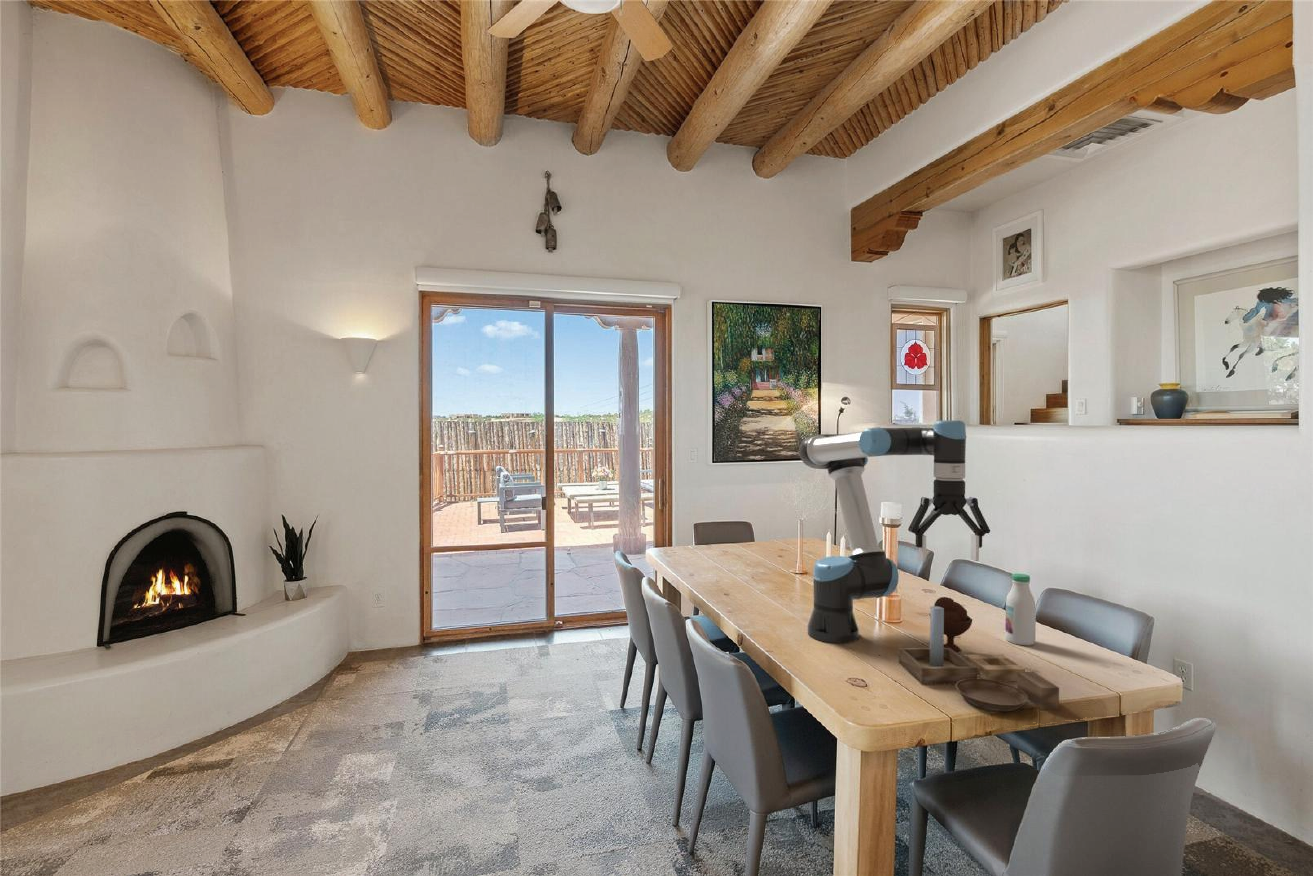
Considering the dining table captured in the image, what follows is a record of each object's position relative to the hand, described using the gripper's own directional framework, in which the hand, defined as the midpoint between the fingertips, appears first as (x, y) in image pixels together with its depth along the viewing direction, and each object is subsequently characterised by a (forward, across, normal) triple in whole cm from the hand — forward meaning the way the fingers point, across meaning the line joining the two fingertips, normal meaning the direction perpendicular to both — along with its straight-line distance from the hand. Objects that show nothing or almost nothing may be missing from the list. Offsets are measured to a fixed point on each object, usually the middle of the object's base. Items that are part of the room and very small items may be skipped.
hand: (948, 560), depth 162 cm
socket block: (+29, +11, -2) cm, 31 cm away
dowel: (+28, -4, -2) cm, 28 cm away
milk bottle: (+29, +31, +22) cm, 48 cm away
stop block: (+29, +13, -18) cm, 36 cm away
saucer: (+29, +2, -18) cm, 35 cm away
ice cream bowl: (+29, +8, +15) cm, 34 cm away
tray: (+29, -4, -2) cm, 29 cm away
